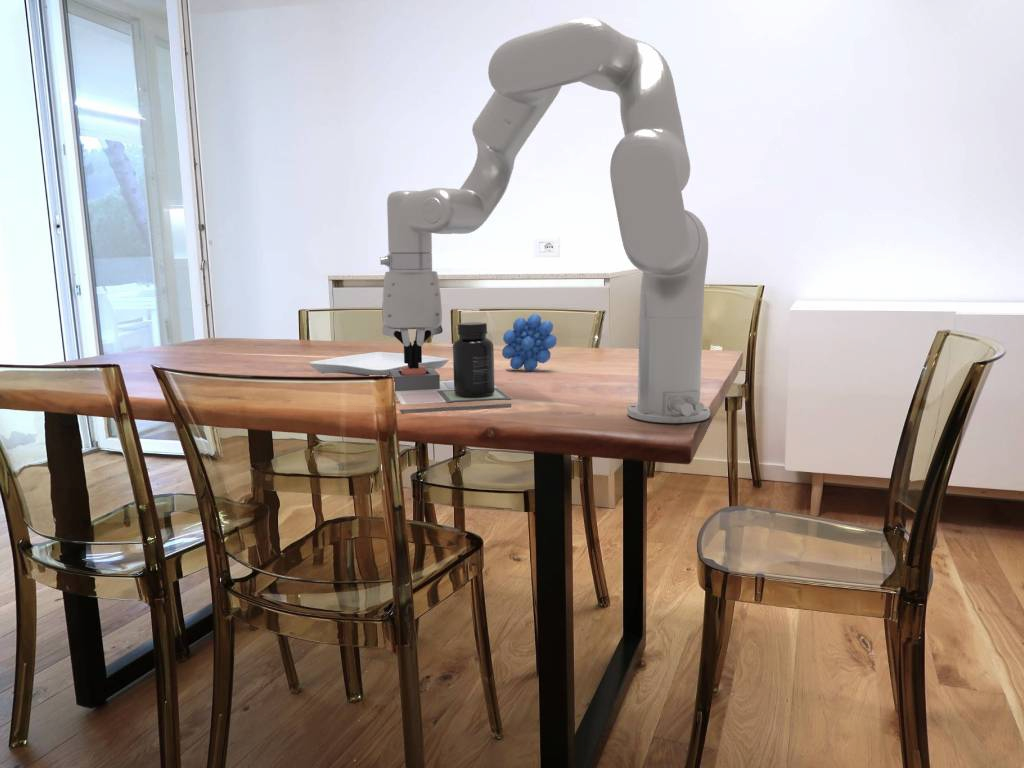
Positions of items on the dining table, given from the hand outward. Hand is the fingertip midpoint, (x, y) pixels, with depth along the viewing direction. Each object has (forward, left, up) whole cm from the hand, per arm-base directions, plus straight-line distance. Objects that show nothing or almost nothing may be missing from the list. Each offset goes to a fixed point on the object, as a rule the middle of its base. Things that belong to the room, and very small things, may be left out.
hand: (413, 367), depth 148 cm
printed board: (-6, -5, -5) cm, 9 cm away
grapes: (+21, -27, -5) cm, 35 cm away
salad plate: (+26, +4, -6) cm, 27 cm away
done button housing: (0, 0, -3) cm, 3 cm away
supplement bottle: (-12, -9, -4) cm, 15 cm away
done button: (0, 0, -2) cm, 2 cm away
